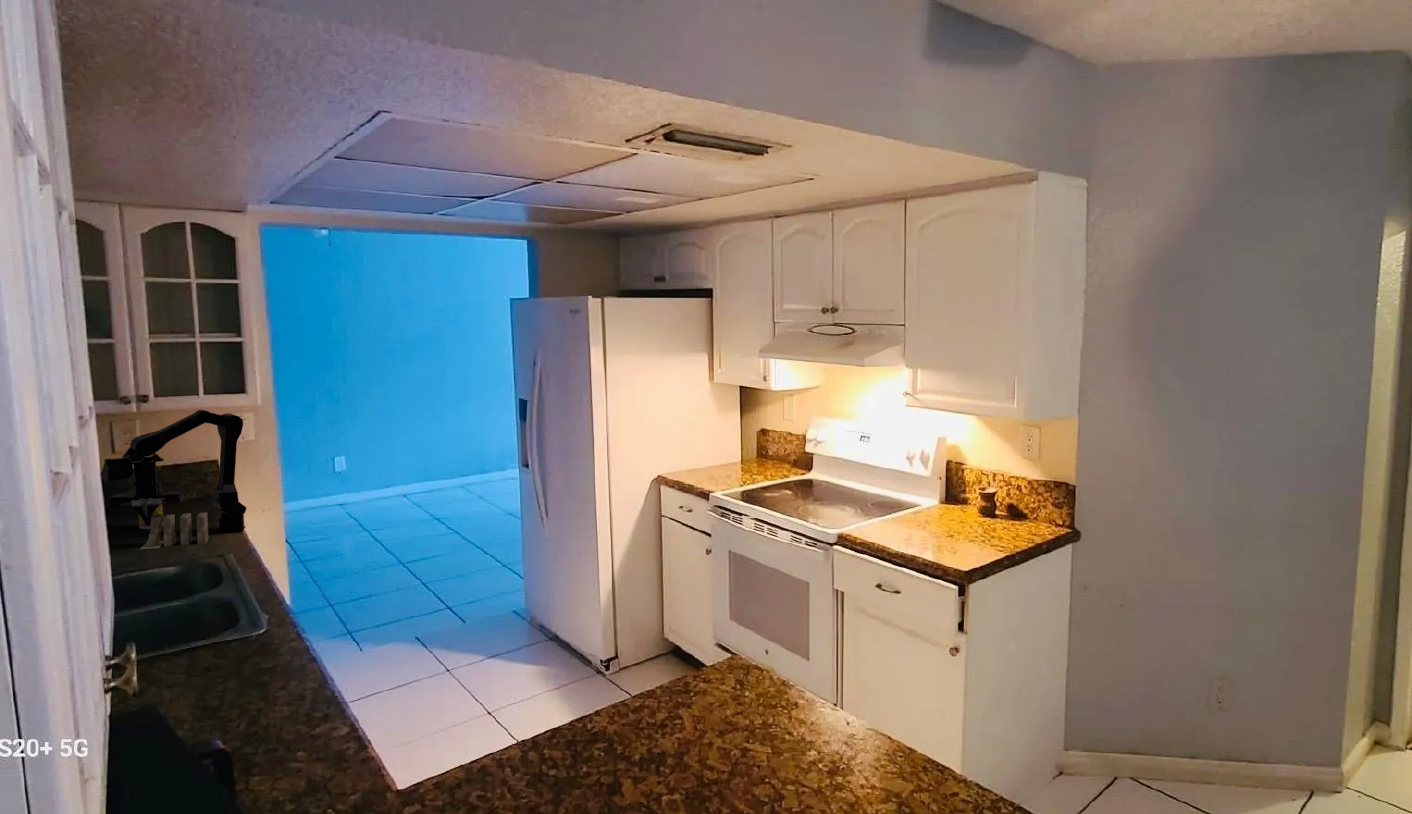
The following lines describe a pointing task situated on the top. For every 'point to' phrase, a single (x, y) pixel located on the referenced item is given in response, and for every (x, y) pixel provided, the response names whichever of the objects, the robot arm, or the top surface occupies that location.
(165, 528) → the domino
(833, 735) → the top surface
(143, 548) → the gap pad
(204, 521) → the domino
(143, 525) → the supplement bottle
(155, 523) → the tile
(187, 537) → the domino
